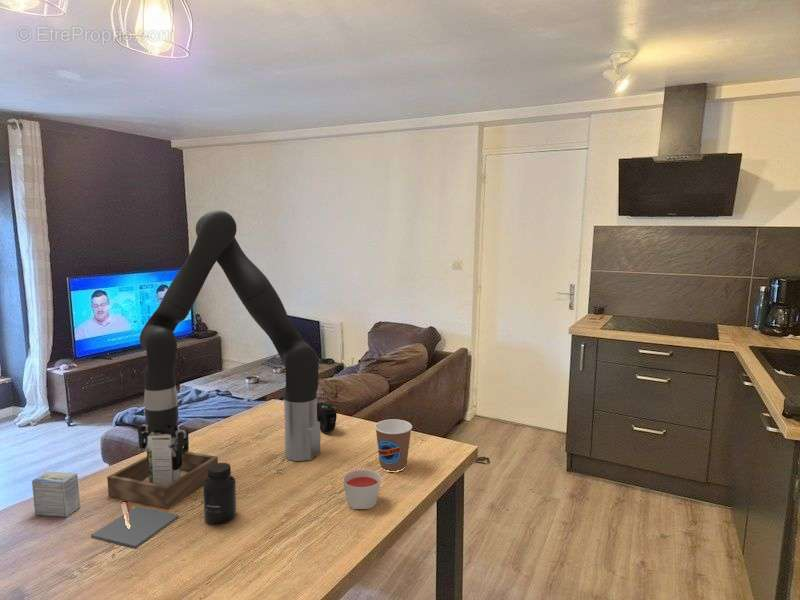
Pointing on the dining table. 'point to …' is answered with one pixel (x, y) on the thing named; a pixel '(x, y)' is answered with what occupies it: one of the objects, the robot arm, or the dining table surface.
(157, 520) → the mat
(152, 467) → the syrup box
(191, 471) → the walnut crate
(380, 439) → the coffee cup
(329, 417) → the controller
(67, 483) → the medicine box
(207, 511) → the supplement bottle
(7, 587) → the dining table surface
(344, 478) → the candle
